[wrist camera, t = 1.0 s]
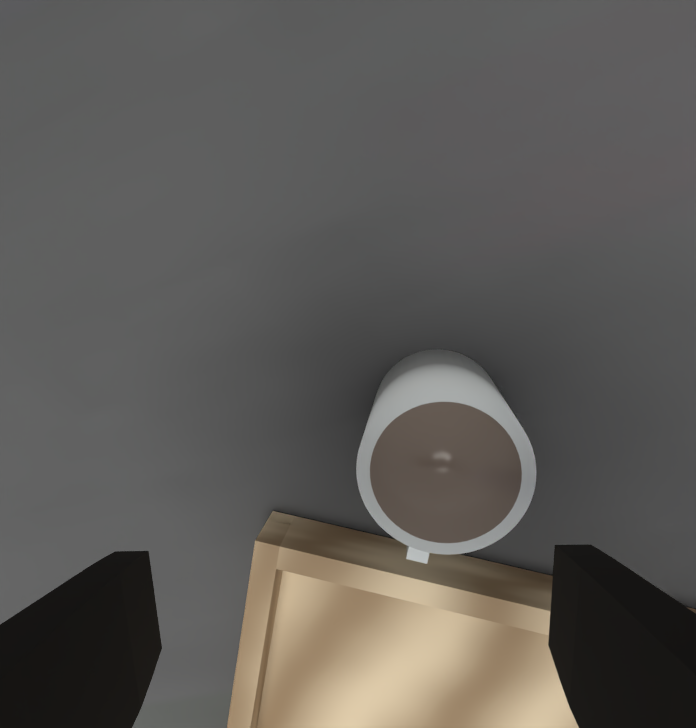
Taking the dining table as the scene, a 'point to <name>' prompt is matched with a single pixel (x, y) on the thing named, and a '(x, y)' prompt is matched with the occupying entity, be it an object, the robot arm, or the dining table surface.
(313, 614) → the tray
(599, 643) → the robot arm
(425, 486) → the espresso cup
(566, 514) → the dining table surface
